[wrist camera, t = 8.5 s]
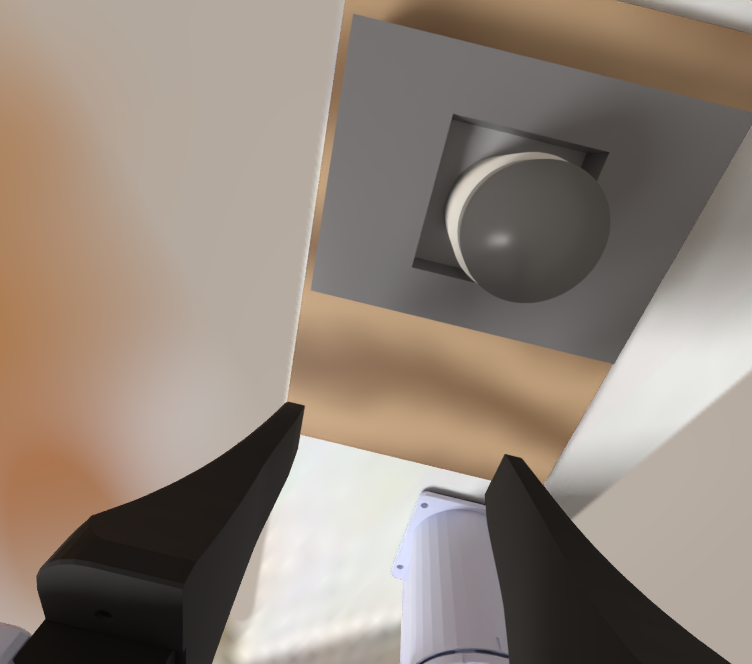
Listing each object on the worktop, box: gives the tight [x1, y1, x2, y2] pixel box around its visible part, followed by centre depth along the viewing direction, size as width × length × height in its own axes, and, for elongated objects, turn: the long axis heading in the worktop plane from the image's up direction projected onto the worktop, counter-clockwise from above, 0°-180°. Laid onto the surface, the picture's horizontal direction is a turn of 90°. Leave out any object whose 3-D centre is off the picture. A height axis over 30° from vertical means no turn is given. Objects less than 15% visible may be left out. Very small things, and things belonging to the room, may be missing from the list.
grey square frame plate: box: [311, 14, 752, 364], centre depth 16 cm, size 14×10×3 cm
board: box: [287, 0, 752, 485], centre depth 20 cm, size 24×17×1 cm
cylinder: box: [444, 152, 610, 303], centre depth 14 cm, size 4×4×6 cm
